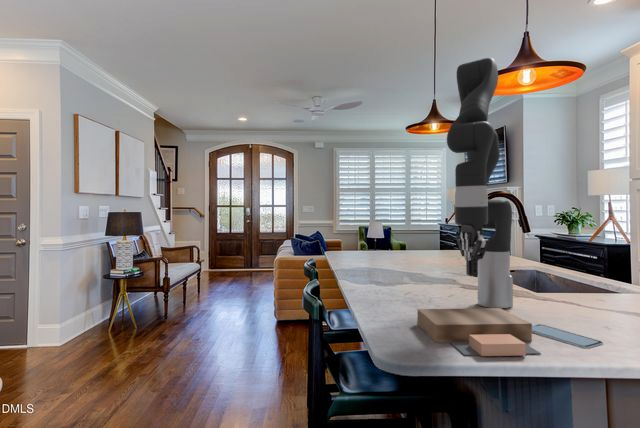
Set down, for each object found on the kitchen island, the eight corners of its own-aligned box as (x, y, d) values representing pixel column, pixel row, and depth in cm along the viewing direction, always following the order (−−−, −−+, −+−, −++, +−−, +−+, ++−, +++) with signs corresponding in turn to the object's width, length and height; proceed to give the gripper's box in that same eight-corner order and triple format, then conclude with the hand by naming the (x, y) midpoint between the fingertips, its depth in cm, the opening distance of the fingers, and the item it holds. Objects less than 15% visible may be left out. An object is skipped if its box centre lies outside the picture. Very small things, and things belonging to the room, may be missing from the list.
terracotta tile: (525, 343, 77) (525, 355, 77) (509, 334, 83) (509, 345, 83) (482, 344, 77) (482, 356, 77) (469, 334, 83) (469, 345, 83)
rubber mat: (520, 342, 86) (520, 340, 86) (540, 354, 78) (540, 353, 78) (450, 343, 85) (450, 341, 85) (464, 355, 78) (464, 354, 78)
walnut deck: (499, 323, 100) (499, 308, 100) (531, 341, 86) (531, 323, 86) (417, 324, 99) (417, 309, 99) (436, 342, 85) (436, 324, 85)
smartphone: (586, 347, 81) (521, 327, 95) (586, 351, 81) (521, 331, 95) (605, 342, 85) (540, 323, 98) (605, 346, 85) (540, 327, 98)
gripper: (500, 204, 87) (501, 280, 87) (473, 204, 100) (474, 270, 100) (468, 205, 86) (469, 281, 87) (445, 205, 99) (446, 271, 100)
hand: (472, 275), depth 93 cm, fingers closed
